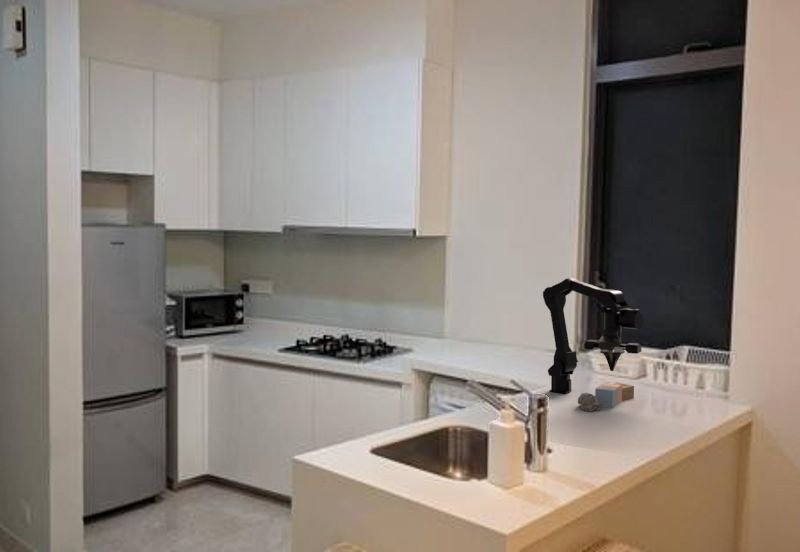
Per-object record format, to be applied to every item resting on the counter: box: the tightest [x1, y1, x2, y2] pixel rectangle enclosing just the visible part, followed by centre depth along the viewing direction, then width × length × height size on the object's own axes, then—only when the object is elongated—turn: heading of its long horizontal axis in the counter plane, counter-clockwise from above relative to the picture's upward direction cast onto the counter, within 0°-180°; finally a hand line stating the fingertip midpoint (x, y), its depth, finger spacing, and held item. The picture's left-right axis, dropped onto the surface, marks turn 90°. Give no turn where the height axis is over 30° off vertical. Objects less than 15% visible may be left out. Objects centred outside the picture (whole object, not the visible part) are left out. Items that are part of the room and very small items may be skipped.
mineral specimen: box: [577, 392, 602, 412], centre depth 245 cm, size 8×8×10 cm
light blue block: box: [594, 385, 618, 409], centre depth 248 cm, size 6×5×6 cm
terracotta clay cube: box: [600, 382, 623, 405], centre depth 253 cm, size 6×5×6 cm
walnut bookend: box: [613, 382, 635, 401], centre depth 260 cm, size 7×9×4 cm
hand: (612, 370), depth 253 cm, fingers closed
